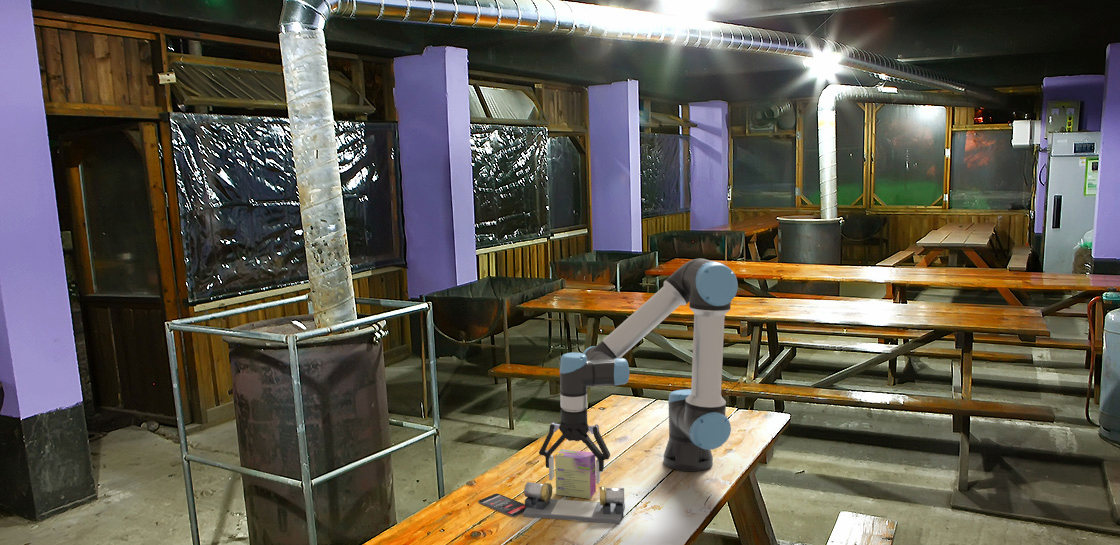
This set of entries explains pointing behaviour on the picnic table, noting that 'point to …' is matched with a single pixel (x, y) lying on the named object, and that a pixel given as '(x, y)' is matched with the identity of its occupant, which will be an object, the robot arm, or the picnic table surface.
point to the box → (575, 473)
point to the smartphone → (503, 505)
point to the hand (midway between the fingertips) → (574, 480)
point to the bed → (575, 511)
